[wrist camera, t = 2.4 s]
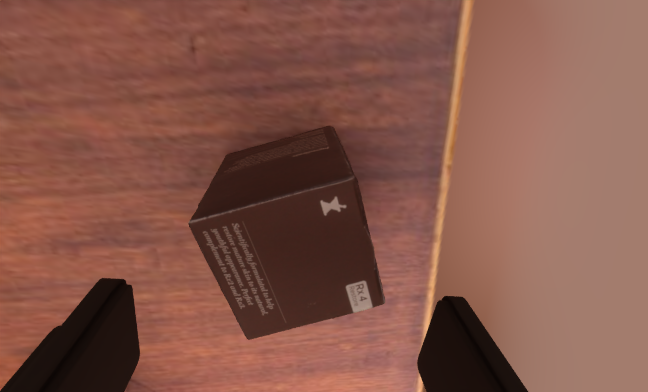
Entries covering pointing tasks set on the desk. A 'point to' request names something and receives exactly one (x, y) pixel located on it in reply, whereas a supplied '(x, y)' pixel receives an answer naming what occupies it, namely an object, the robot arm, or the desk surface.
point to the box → (288, 234)
